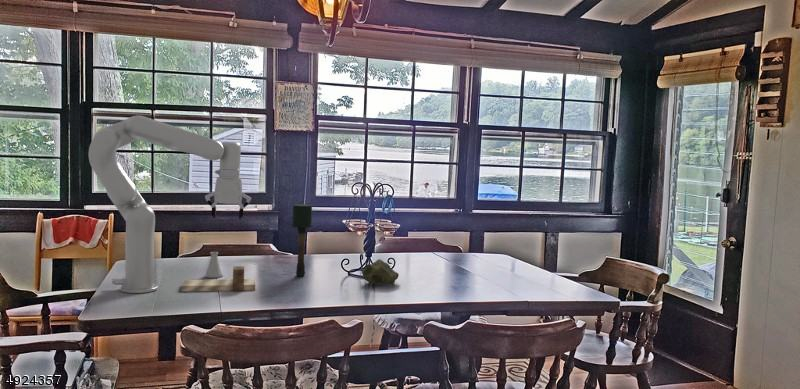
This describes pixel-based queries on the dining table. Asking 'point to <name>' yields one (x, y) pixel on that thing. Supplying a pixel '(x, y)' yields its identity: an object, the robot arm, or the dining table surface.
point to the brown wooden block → (238, 278)
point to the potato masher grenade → (301, 231)
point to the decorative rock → (379, 273)
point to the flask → (213, 267)
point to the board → (215, 285)
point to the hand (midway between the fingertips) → (227, 218)
